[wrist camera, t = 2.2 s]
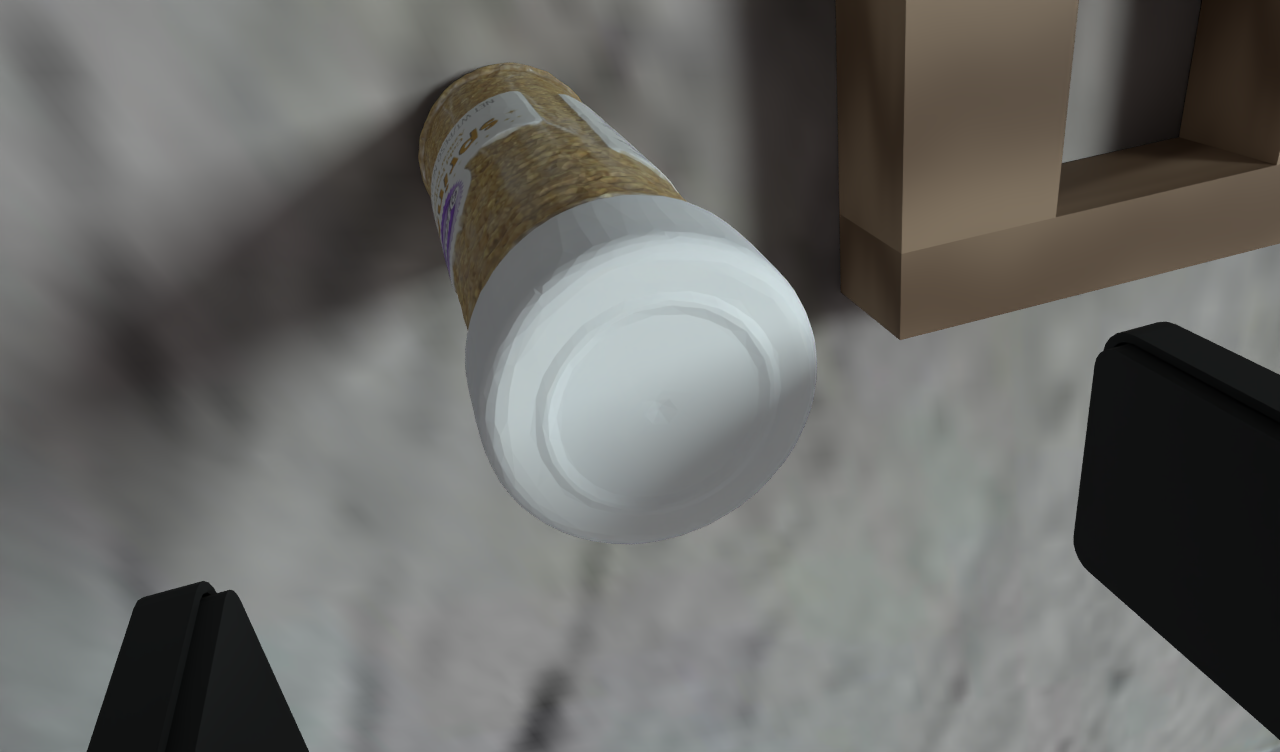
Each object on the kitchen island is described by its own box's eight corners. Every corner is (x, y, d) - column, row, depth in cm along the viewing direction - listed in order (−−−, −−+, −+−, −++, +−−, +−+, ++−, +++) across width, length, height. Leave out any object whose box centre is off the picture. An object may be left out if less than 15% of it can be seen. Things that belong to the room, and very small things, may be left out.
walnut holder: (832, -167, 21) (909, -179, 18) (1381, -248, 24) (1526, -269, 21) (841, 292, 27) (899, 339, 24) (1281, 185, 30) (1383, 216, 27)
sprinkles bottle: (400, 72, 21) (448, 272, 10) (589, 50, 22) (836, 208, 11) (435, 255, 23) (509, 592, 12) (605, 227, 24) (824, 516, 13)
